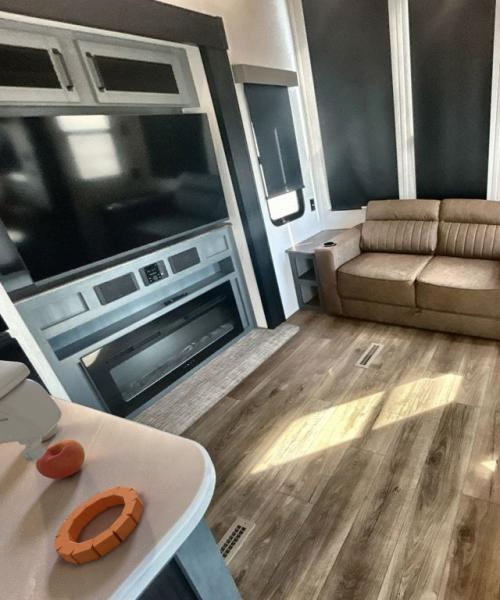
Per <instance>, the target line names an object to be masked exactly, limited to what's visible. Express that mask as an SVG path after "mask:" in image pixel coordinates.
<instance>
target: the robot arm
mask: <svg viewBox="0 0 500 600" xmlns="http://www.w3.org/2000/svg"><path fill="white" fill-rule="evenodd" d="M30 374H31V370H30V368H28V366H27V365H26V364H25V363H23V362H19V361H9V360H0V445H2V444H8V443H15V442H18V444H19V445H21V446H22V445H23V446H24V445H25V449H24V450H23V451H22V452H21V453H20V455H21V456H22V457H23V458H24V459H25V461H26V462H31V461H37V459H40V458H41V457H42V456H43V455H44V454H45V453H46V449H47V447H45V445H44V444H43V443H42V442H43V441H42V437H44V436H45V435H47V434H48V433H49V432H50V431H51V430H52V429H53V428H54V427H55V426H56V424H57V423H58V424H59V422H60V421H61V419H62V416H63V415H62V410H61V408H60V407H59V405H58V404H57V402H56V401H55V400H54V399H53V398H52V396H51V395H50V394H49V392H48V391H47V390H46V389H45V388H44V387H43V386H42V385H41V384H40V383H39V382H37V381H35V380H33V379H31V378H27V377H28V376H29V375H30Z"/></svg>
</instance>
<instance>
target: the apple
mask: <svg viewBox="0 0 500 600" xmlns="http://www.w3.org/2000/svg"><path fill="white" fill-rule="evenodd" d="M85 458H86V453H85V448H84V446H83V445H82V444H81V443H80V442H79V441H77V440H75V439H63V440H60V441H57V442H55V443H54V444H52V445H50V446H48V447H46V453H45V454H44V455H43V456H42V457H41V458H40V459H37V460H36V462H35V467H36V471H37V472H38V473H39V474H40V475H41V476H43V477H44V478H47V479H52V480H61V479H65V478H68V477H69V476H72V475H73V474H76V473H78V472H79V471H80V470H81V469H82V467H83V464H84V462H85Z"/></svg>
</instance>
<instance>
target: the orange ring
mask: <svg viewBox="0 0 500 600" xmlns="http://www.w3.org/2000/svg"><path fill="white" fill-rule="evenodd" d="M82 504H83V505H82ZM82 504H79V505H78V506H77V507H76V509H74V510H73V511H72V512H71V513H70V514H69V515H68V516H67V517H66V518H65V521H63V522H62V523H61V526H60V527H59V529H58V531H57V533H56V534H55V536H54V537H55V538H54V544H55V545H54V547H55V551H56V552H57V553H58V554H59V555H60V556H61V557H62V558H63V559H64V561H66V562H69V563H73V564H75V565H78V564H80V565H81V564H86V563H88V562H91V561H94V560H97V559H99V558H100V556H101V557H103V556H104V555H106V554H107V553H109V552H110V551H112V550H113V549H115V548H117V546H119V545H120V544H121V541H125V540H126V539H127V537H128V536H129V534H130V533H132V531H133V530H134V529H135V528H136V526H137V524H138V523H139V522H140V518H141V517H142V513H143V510H144V504H143V502H142V499H141V498H140V496H139V495H138V493H137V492H136V491H135V489H133V487H129V486H124V485H120V486H115V487H112V488H108V489H105V490H103V491H102V492H98V493H96V494H95V495H93V496H91V497H90V498H88V499H87V500H85V501H83V503H82ZM119 505H124V507H123V508H122V512H121V514H120V515H119V517H118V518H116V520H115V521H114V522H113V523H112V524H111V525H110V526H109V528H108V529H105V530H104V531H103V532H101V533H99V534H98V535H97V536H96V537H94V538H91V539H88V540H85V541H82V542H77V540H78V538H79V536H80V534H81V532H82V530H83V528H85V526H86V525H87V524H89V522H90V521H92V519H94V517H95V516H97V515H99V514H100V513H102V512H103V511H105V510H107V509H108V508H112V507H114V506H119Z"/></svg>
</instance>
